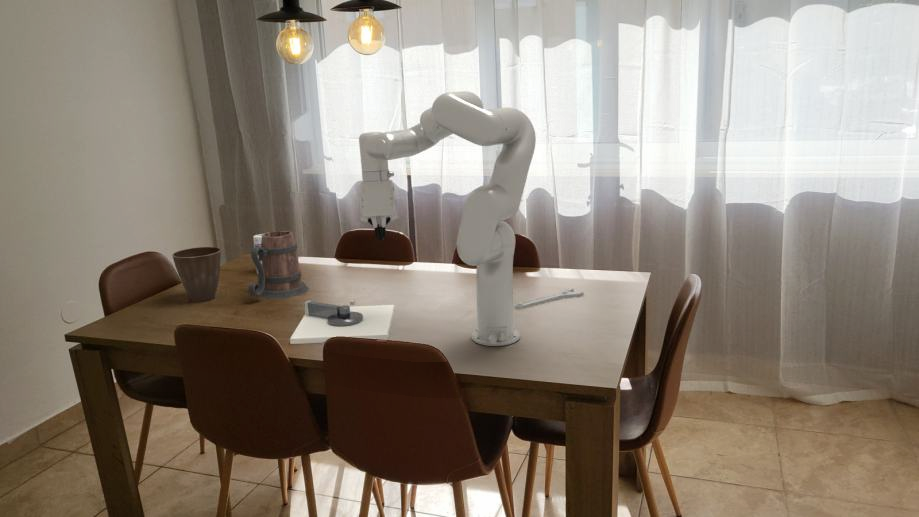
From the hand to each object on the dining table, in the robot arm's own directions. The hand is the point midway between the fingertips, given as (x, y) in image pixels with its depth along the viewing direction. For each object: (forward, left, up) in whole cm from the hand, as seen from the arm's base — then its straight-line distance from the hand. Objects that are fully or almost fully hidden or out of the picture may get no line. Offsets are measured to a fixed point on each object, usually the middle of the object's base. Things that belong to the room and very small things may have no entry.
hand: (381, 240), depth 202 cm
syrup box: (+56, +49, -23) cm, 78 cm away
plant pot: (+26, +63, -23) cm, 72 cm away
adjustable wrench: (+9, -49, -24) cm, 55 cm away
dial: (-5, +15, -21) cm, 26 cm away
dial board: (-5, +11, -23) cm, 26 cm away
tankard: (+28, +39, -23) cm, 53 cm away
